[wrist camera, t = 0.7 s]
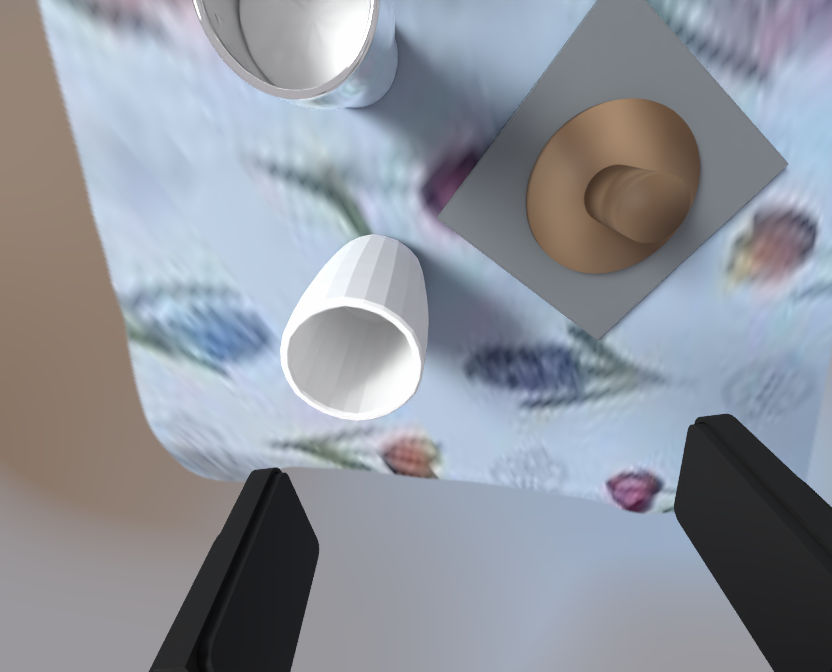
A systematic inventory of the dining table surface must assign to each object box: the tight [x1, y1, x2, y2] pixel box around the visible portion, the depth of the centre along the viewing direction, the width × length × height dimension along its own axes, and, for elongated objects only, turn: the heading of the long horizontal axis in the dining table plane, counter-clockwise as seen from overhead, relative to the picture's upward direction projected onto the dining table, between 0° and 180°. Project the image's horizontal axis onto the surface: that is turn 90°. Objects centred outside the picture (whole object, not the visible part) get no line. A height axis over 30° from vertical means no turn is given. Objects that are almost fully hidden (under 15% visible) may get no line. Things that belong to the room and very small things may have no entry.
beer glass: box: [192, 0, 398, 110], centre depth 20 cm, size 7×7×15 cm
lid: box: [526, 98, 700, 274], centre depth 27 cm, size 12×12×7 cm
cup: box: [280, 234, 429, 421], centre depth 28 cm, size 8×8×14 cm
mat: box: [438, 0, 788, 340], centre depth 30 cm, size 18×18×1 cm
